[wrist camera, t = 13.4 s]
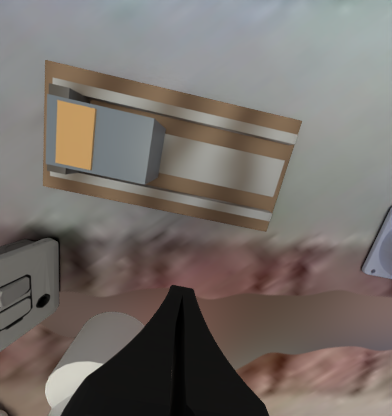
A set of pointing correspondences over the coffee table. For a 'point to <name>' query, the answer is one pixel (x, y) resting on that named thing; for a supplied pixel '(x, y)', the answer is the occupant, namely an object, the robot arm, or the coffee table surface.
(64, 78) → the din rail board
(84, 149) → the block
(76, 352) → the cylinder with rectangular tab
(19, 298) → the electrical switch
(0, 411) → the ring around a ball
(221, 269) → the coffee table surface
